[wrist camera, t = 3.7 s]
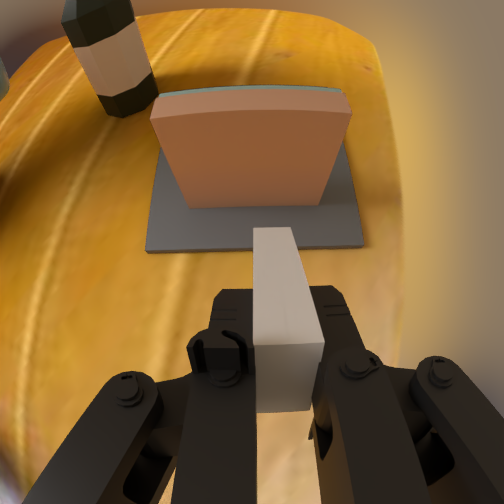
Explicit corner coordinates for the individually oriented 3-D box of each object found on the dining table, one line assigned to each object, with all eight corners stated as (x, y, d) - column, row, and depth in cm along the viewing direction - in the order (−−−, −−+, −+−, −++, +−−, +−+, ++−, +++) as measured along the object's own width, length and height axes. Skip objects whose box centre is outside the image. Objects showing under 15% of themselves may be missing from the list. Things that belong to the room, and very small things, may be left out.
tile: (317, 205, 26) (352, 113, 15) (189, 208, 26) (149, 119, 15) (314, 183, 27) (343, 89, 15) (191, 187, 27) (156, 94, 16)
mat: (361, 248, 26) (364, 245, 25) (147, 253, 26) (144, 250, 25) (326, 91, 33) (327, 87, 32) (174, 95, 33) (173, 91, 32)
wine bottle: (97, 122, 32) (12, -52, 4) (117, 85, 35) (57, -70, 6) (151, 114, 32) (81, -94, 3) (166, 77, 34) (121, -99, 6)
